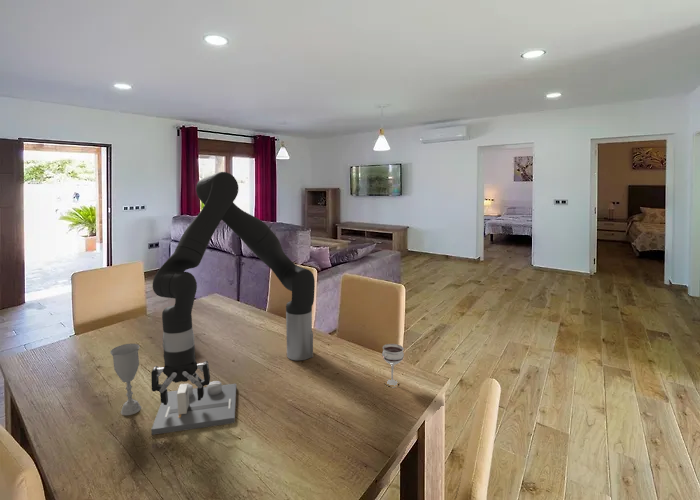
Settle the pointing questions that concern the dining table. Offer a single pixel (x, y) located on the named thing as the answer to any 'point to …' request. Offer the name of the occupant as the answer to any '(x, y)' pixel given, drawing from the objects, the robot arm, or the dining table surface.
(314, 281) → the robot arm
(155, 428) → the console
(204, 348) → the dining table surface
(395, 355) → the wineglass
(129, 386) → the chalice
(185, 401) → the block
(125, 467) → the dining table surface
